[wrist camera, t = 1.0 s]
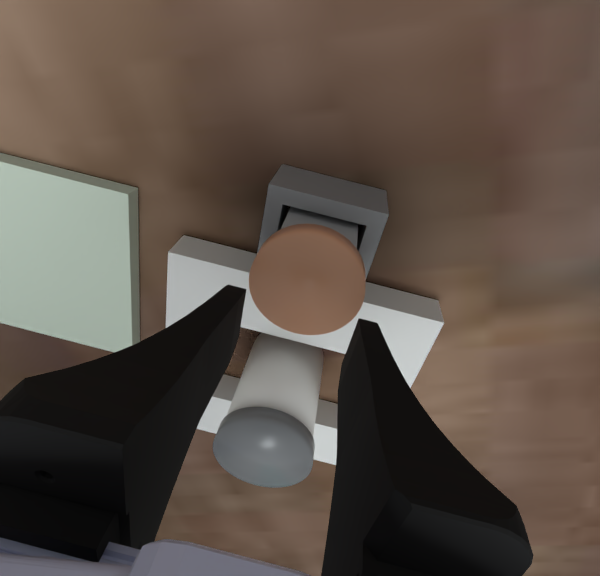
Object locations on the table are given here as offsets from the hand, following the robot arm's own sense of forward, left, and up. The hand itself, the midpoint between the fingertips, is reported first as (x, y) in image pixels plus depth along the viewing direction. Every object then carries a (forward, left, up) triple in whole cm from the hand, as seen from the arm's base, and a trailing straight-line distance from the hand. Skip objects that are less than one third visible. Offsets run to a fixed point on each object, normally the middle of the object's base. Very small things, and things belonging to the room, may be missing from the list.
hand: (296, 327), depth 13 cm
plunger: (0, 0, -7) cm, 7 cm away
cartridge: (-9, 0, -8) cm, 12 cm away
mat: (-6, +15, -8) cm, 18 cm away
